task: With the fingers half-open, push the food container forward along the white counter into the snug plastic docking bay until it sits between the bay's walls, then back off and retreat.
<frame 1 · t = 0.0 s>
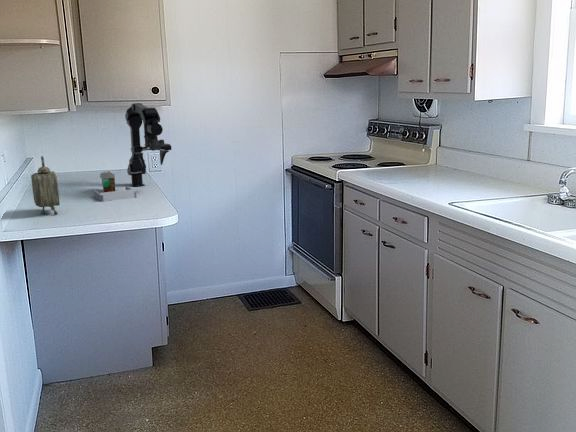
hand: (152, 165, 284), 15 cm above the countertop, fingers open, 9 cm apart
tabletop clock: (47, 213, 252), on the countertop
dock: (114, 196, 283), on the countertop
food container: (107, 192, 295), on the countertop
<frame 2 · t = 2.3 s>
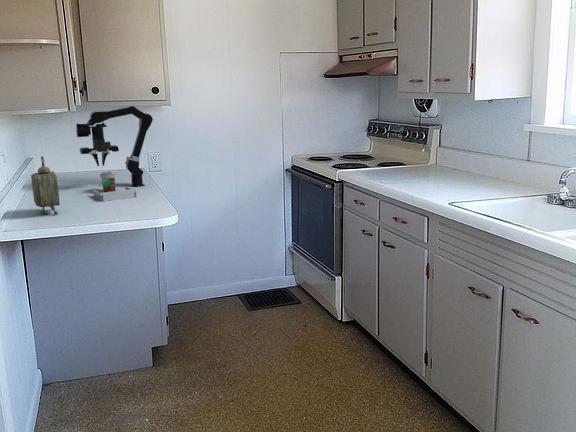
hand: (100, 166, 300), 12 cm above the countertop, fingers closed
nothing on the countertop moved.
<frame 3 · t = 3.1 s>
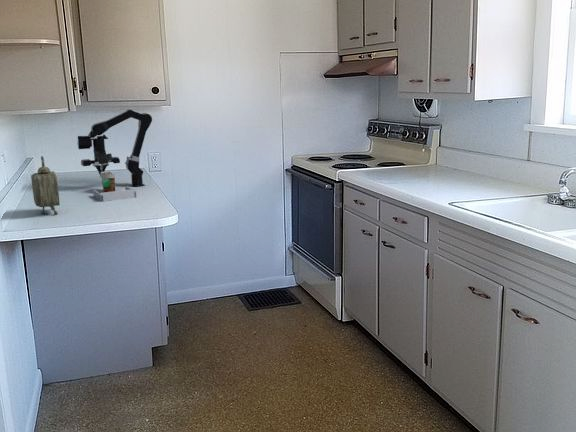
hand: (102, 177, 302), 6 cm above the countertop, fingers closed
nothing on the countertop moved.
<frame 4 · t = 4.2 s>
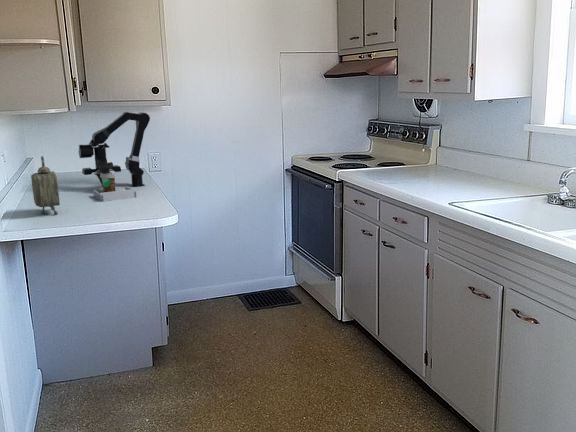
hand: (103, 186, 302), 2 cm above the countertop, fingers closed
food container: (107, 192, 295), on the countertop, touching gripper
everything else where it was.
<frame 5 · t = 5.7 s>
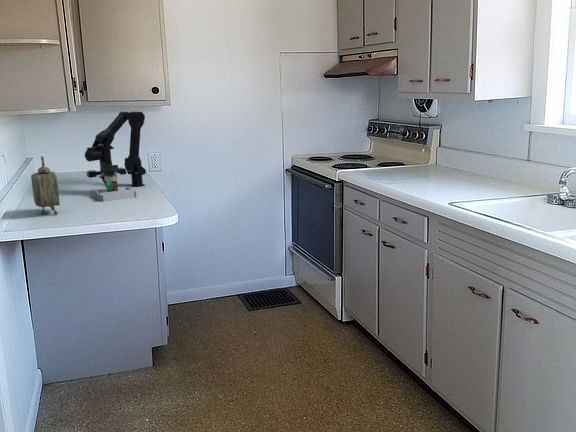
hand: (108, 189, 294), 2 cm above the countertop, fingers closed
food container: (112, 195, 287), on the countertop, touching gripper
everything else where it was.
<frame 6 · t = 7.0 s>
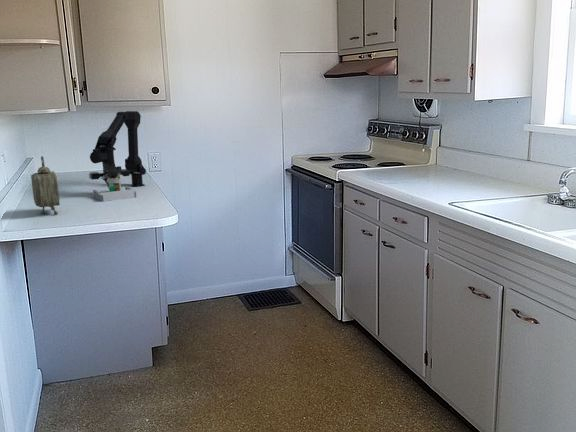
hand: (110, 191, 289), 2 cm above the countertop, fingers closed
food container: (114, 197, 283), on the countertop, touching gripper
everything else where it was.
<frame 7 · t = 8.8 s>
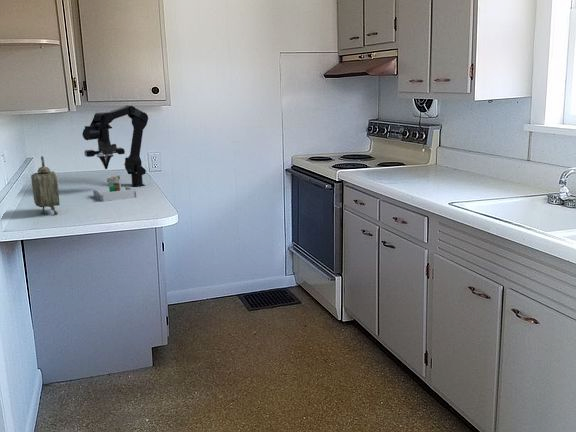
hand: (106, 169, 292), 12 cm above the countertop, fingers closed
food container: (114, 197, 283), on the countertop
everything else where it was.
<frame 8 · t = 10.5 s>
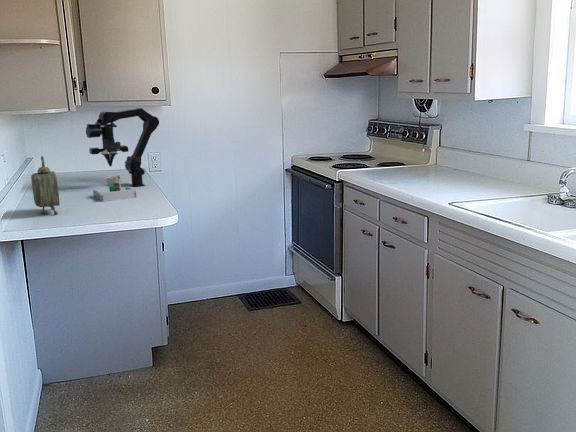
hand: (110, 166, 299), 12 cm above the countertop, fingers closed
nothing on the countertop moved.
at the end: food container inside the target area on the dock (2.2 cm from its centre), point 0.0 cm above the dock's base; food container tilted 0°; food container moved 14.9 cm from its start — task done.
